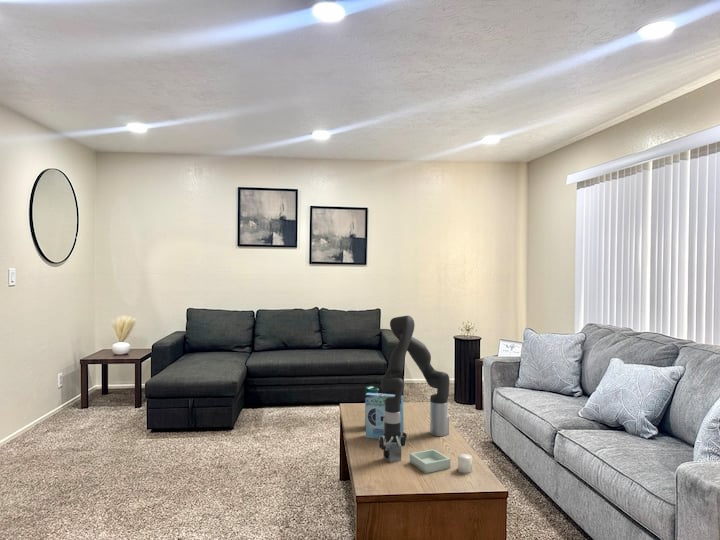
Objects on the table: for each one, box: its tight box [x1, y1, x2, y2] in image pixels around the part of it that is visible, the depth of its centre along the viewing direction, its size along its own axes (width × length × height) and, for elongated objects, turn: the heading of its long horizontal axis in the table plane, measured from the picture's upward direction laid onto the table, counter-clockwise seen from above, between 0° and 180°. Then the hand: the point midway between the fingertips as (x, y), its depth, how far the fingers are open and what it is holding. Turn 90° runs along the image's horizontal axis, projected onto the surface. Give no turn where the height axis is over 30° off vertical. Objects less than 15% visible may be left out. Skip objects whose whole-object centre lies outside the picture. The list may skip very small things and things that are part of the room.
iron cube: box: [383, 443, 402, 464], centre depth 221 cm, size 6×6×6 cm
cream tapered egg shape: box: [457, 453, 473, 474], centre depth 210 cm, size 6×6×6 cm
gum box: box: [365, 392, 405, 441], centre depth 249 cm, size 20×5×23 cm, turn 72°
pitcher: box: [364, 385, 380, 428], centre depth 267 cm, size 10×8×22 cm
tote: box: [409, 448, 451, 474], centre depth 215 cm, size 13×13×4 cm
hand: (392, 456), depth 221 cm, fingers closed on iron cube, 6 cm apart
